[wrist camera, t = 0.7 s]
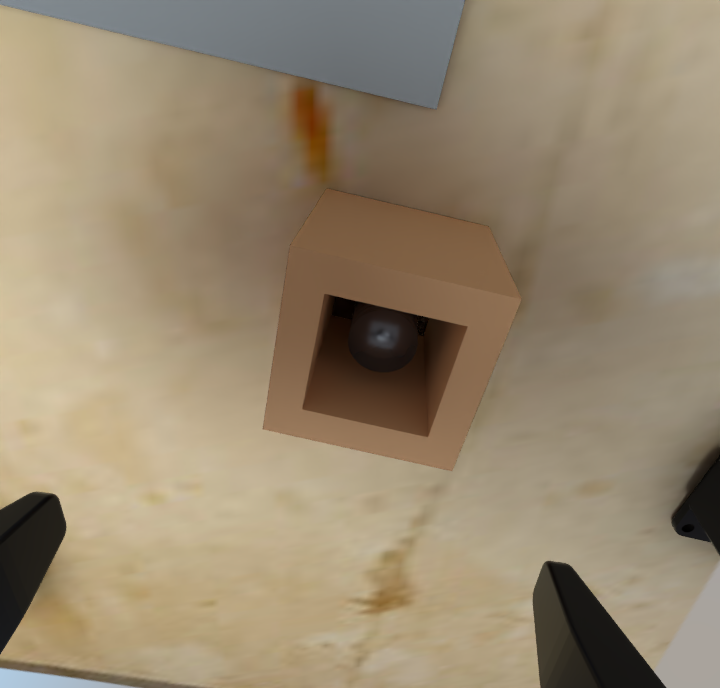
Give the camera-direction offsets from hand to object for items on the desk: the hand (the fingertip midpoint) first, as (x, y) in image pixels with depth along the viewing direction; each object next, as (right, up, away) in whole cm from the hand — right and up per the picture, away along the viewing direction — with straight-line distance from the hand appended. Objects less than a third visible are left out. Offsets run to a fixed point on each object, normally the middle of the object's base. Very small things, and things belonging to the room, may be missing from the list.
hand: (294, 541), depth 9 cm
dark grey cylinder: (+2, +6, +9) cm, 11 cm away
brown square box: (+2, +6, +9) cm, 11 cm away
